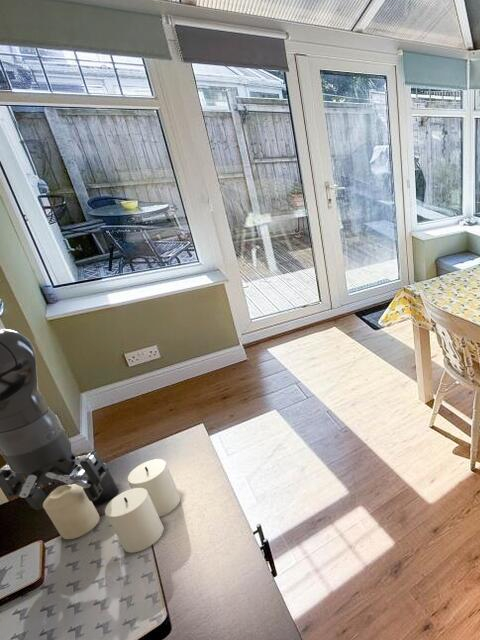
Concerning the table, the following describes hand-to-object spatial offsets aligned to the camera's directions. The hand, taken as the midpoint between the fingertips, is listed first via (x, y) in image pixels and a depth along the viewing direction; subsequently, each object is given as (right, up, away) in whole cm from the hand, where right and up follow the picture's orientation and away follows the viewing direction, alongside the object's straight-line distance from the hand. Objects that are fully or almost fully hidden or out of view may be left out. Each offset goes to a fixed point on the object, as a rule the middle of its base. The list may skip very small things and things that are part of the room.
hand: (69, 501), depth 79 cm
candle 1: (0, -6, +3) cm, 7 cm away
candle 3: (+13, -8, +1) cm, 15 cm away
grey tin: (-2, -3, +9) cm, 10 cm away
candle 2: (+12, -5, +7) cm, 15 cm away
